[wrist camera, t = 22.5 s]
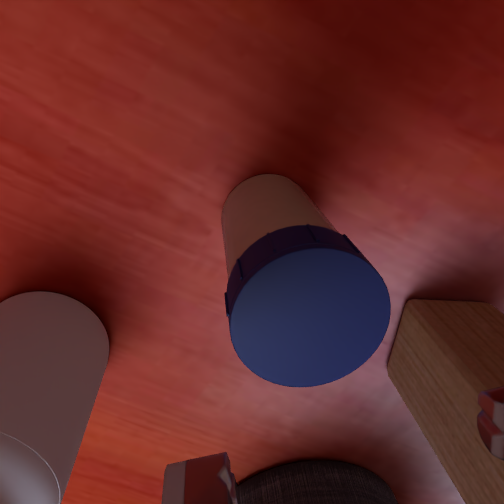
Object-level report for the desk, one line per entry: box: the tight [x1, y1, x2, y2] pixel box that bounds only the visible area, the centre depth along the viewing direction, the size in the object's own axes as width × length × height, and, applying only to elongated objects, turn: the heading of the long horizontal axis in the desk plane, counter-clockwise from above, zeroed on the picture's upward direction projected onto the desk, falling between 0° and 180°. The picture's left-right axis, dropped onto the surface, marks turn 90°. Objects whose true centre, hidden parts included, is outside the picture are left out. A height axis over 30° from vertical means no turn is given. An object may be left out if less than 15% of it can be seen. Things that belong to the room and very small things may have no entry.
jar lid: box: [225, 224, 391, 387], centre depth 16 cm, size 6×6×2 cm
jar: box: [221, 174, 339, 280], centre depth 21 cm, size 6×6×11 cm
